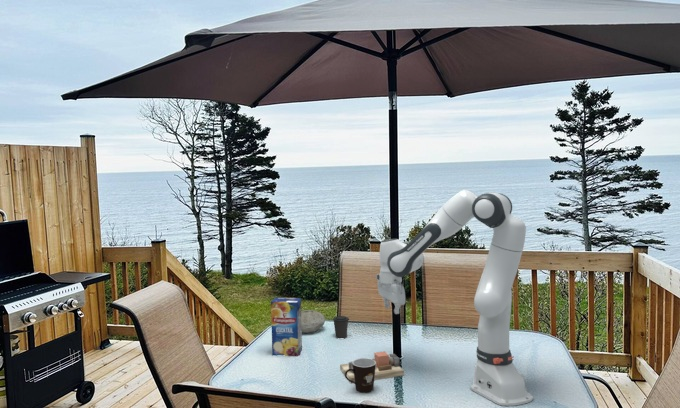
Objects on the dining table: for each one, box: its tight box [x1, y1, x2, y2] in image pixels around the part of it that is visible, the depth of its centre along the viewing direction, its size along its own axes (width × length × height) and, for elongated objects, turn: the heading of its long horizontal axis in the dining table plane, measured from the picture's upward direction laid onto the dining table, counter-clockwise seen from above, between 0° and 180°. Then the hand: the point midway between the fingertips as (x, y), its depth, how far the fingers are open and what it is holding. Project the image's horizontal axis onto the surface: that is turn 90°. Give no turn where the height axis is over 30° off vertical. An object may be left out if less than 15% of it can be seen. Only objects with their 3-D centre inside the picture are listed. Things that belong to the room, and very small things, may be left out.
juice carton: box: [270, 297, 303, 357], centre depth 217 cm, size 12×8×24 cm, turn 82°
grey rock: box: [301, 309, 326, 334], centre depth 248 cm, size 18×18×10 cm
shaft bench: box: [339, 353, 405, 384], centre depth 194 cm, size 14×22×5 cm, turn 107°
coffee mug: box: [344, 357, 376, 394], centre depth 179 cm, size 12×9×10 cm
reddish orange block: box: [373, 351, 390, 368], centre depth 195 cm, size 4×4×5 cm
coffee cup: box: [332, 315, 350, 339], centre depth 237 cm, size 8×8×10 cm
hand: (391, 310), depth 201 cm, fingers open, 8 cm apart
